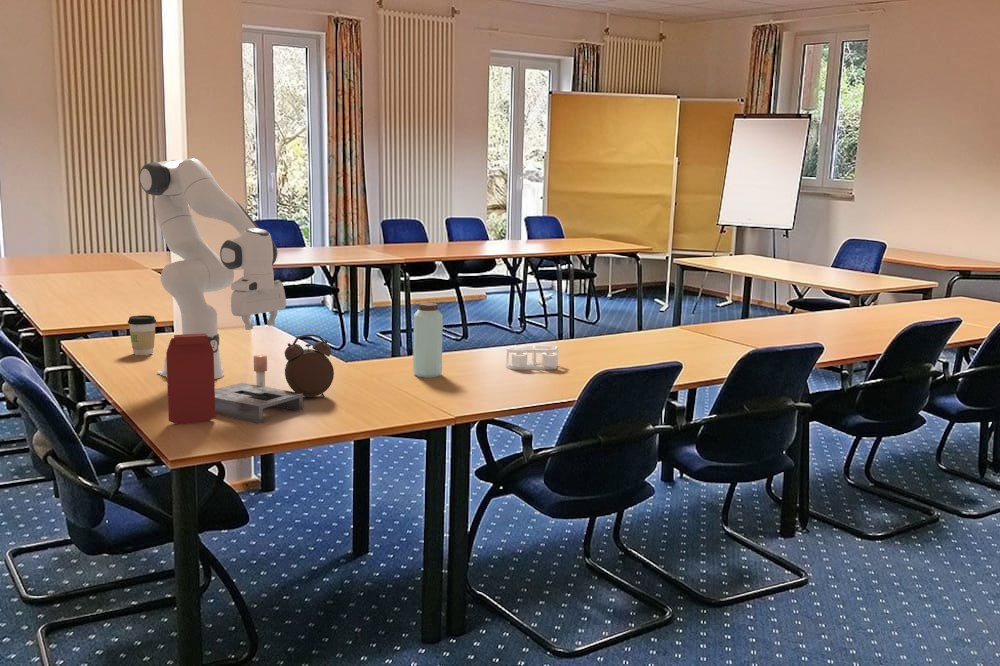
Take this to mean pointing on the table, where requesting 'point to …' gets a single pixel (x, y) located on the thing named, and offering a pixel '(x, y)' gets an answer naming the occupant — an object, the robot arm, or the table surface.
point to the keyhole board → (253, 401)
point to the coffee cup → (142, 334)
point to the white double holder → (533, 357)
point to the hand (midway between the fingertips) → (260, 327)
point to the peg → (260, 369)
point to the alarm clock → (309, 367)
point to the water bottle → (427, 341)
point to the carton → (190, 379)
